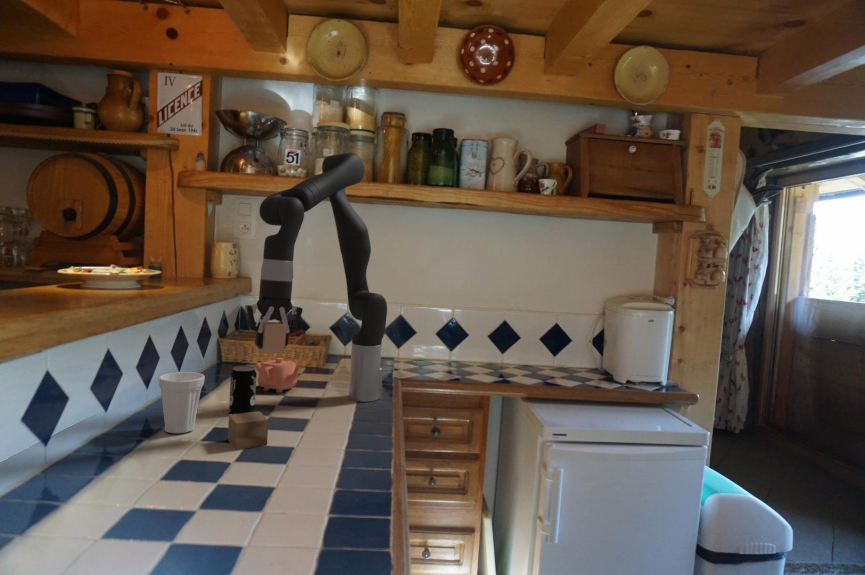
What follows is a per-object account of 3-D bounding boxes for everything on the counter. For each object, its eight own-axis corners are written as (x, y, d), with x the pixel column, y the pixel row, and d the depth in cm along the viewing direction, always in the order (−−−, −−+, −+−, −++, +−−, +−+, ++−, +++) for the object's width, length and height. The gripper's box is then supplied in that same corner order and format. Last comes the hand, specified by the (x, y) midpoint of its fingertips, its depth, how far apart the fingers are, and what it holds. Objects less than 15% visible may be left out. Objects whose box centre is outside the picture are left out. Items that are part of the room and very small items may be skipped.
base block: (258, 436, 124) (259, 411, 124) (266, 445, 119) (268, 419, 118) (227, 440, 120) (228, 414, 120) (235, 450, 115) (236, 423, 114)
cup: (193, 421, 131) (195, 370, 131) (209, 432, 124) (211, 378, 123) (150, 428, 124) (152, 374, 124) (164, 440, 117) (166, 383, 116)
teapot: (254, 394, 159) (256, 362, 158) (252, 385, 170) (254, 354, 169) (302, 393, 164) (304, 361, 163) (297, 384, 175) (299, 354, 174)
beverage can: (246, 415, 138) (248, 371, 138) (224, 412, 139) (226, 368, 139) (259, 409, 145) (261, 366, 144) (237, 406, 146) (239, 364, 145)
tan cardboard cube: (278, 349, 131) (280, 322, 130) (284, 353, 127) (286, 324, 126) (257, 349, 128) (260, 321, 128) (263, 353, 124) (265, 324, 124)
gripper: (300, 279, 134) (294, 345, 134) (242, 275, 126) (237, 345, 126) (310, 281, 127) (304, 350, 128) (250, 277, 120) (244, 350, 120)
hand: (271, 347), depth 127 cm, fingers closed on tan cardboard cube, 5 cm apart
